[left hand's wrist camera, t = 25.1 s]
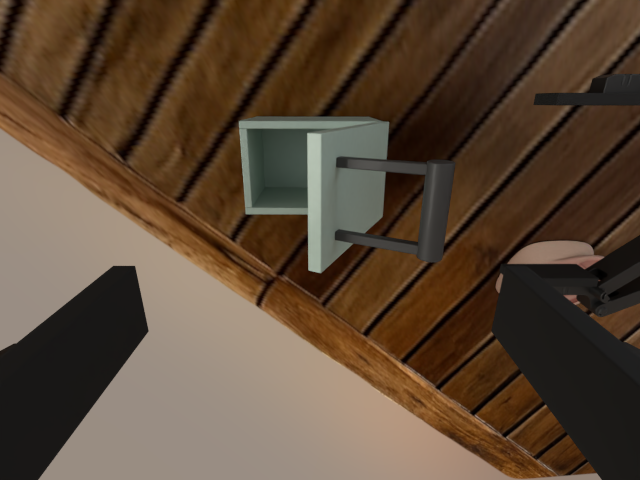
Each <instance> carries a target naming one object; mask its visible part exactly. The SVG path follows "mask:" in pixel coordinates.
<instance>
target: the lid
mask: <svg viewBox="0 0 640 480" xmlns="http://www.w3.org/2000/svg"><path fill="white" fill-rule="evenodd" d="M388 131H389V122H381V121H379V122H373V123H367V124H360V125H354V126H348V127H341V128H335V129H329V130H322V131H316V132H310V133H307V167H308V263H309V271H313V272H318V273H322V272H323V271H324V270H325V269H326V268H327V267H328V266H329V265H330V264H332V263H333V262H334V261H335V260H336V259H337V258H338V257H339V256H340V255H341V254H342V253H343V252H345V251H346V250H347V249H348V248H349V247H350V246H351V245H352V244H353V243H354V244H360V245H365V246H371V247H377V248H382V249H388V250H393V251H399V252H405V253H410V254H416V255H417V258H419V259H420V260H423V261H426V262H438V261H441V260H442V256H443V248H444V241H445V234H446V227H447V220H448V212H449V205H450V198H451V191H452V184H453V177H454V169H455V162H453V161H449V160H429V161H427V162H414V161H400V160H387V145H388ZM386 172H395V173H406V174H418V175H425V184H424V193H423V202H422V211H421V220H420V229H419V238H418V242H414V241H408V240H402V239H396V238H390V237H383V236H377V235H371V234H365V232H366V231H367V230H369V229H370V228H371V227H372V226H373V225H374V224H375V223H376V222H377V221H378V220H379V219H381V218H382V217H383V203H384V189H385V174H386Z"/></svg>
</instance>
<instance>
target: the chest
mask: <svg viewBox="0 0 640 480" xmlns="http://www.w3.org/2000/svg"><path fill="white" fill-rule="evenodd" d="M379 121H380V120H377V119H374V118H371V117H264V116H257V117H253V118H249V119H245V120H241V121H239V128H240V129H239V130H240V143H241V156H242V169H243V182H244V195H245V207H246V214H308V167H307V133H310V132H316V131H322V130H329V129H335V128H341V127H348V126H354V125H360V124H367V123H373V122H379ZM381 122H383V121H381Z"/></svg>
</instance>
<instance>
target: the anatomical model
mask: <svg viewBox="0 0 640 480" xmlns="http://www.w3.org/2000/svg"><path fill="white" fill-rule="evenodd" d="M602 258H604V257H603V256H598V255H594V251H593V249H592V247H591V246H590V245H589V244H587V243H584V242H579V241H546V242H538V243H534V244H531V245H528V246H526V247H524V248H523V249H521V250H520V251H519V252H517V253H516V254H515V255H514V256H513V257H512V258H511V260H510V261H509V262H508V263H507V264H577V265H579V266H580V267H582V268H584V269H586V268H588V267H589V266H591V265H593V264H594V263H596V262H597V261H599V260H601V259H602ZM502 278H503V275H502V274H500V276H499V278H498V280H497V282H496V290H497V291H498V293H500V288H501V283H502ZM598 281H600V280H598ZM564 296H565V297H566V298H567V299H569V300H570V301H571V302H572V303H574V304H575V305H577V304H579V303H580V302H579V301H577V299H576V296H577V295H564Z"/></svg>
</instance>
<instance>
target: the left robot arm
mask: <svg viewBox="0 0 640 480" xmlns="http://www.w3.org/2000/svg"><path fill="white" fill-rule="evenodd" d="M147 333H148V326H147V322H146V317H145V312H144V307H143V302H142V298H141V293H140V288H139V283H138V278H137V274H136V269H135V266H113V267H112V268H110V269H109V270H108V271H106V272H105V273H104V274H103V275H101V276H100V277H99V278H98V279H97V280H95V281H94V282H93V283H92V284H90V285H89V286H88V287H86V288H85V289H84V290H83V291H82V292H80V293H79V294H78V295H77V296H75V297H74V298H73V299H71V300H70V301H69V302H68V303H66V304H65V305H64V306H63V307H62V308H60V309H59V310H58V311H57V312H55V313H54V314H53V315H51V316H50V317H49V318H48V319H47V320H45V321H44V322H43V323H41V324H40V325H39V326H38V327H36V328H35V329H34V330H33V331H32V332H30V333H29V334H28V335H27V336H25V337H24V338H23V339H22V340H20V341H19V342H18V343H17V344H13V345H11V346H9V347H7V348H5V349H3V350H1V351H0V480H38V479H39V478H40V476H41V475H42V474H43V472H44V471H45V470H46V468H47V467H48V466H49V464H50V463H51V462H52V460H53V459H54V458H55V456H56V455H57V453H58V452H59V451H60V450H61V448H62V447H63V446H64V444H65V443H66V441H67V440H68V439H69V437H70V436H71V435H72V433H73V432H74V431H75V429H76V428H77V427H78V425H79V424H80V423H81V421H82V420H83V419H84V417H85V416H86V415H87V413H88V412H89V411H90V409H91V408H92V407H93V405H94V404H95V403H96V401H97V400H98V398H99V397H100V396H101V394H102V393H103V392H104V390H105V389H106V388H107V386H108V385H109V384H110V382H111V381H112V380H113V378H114V377H115V376H116V374H117V373H118V372H119V370H120V369H121V367H122V366H123V365H124V364H125V362H126V361H127V359H128V358H129V357H130V355H131V354H132V353H133V351H134V350H135V349H136V347H137V346H138V345H139V343H140V342H141V341H142V339H143V338H144V337H145V335H146V334H147ZM492 333H493V334H494V335H495V337H496V338H497V339H498V341H499V342H500V343H501V345H502V346H503V347H504V349H505V350H506V351H507V353H508V354H509V355H510V357H511V358H512V359H513V361H514V362H515V364H516V365H517V366H518V368H519V369H520V370H521V372H522V373H523V374H524V376H525V377H526V378H527V380H528V381H529V382H530V384H531V385H532V386H533V388H534V389H535V390H536V392H537V393H538V394H539V396H540V397H541V398H542V400H543V401H544V403H545V404H546V405H547V407H548V408H549V409H550V411H551V412H552V413H553V415H554V416H555V417H556V419H557V420H558V421H559V423H560V424H561V425H562V427H563V428H564V429H565V431H566V432H567V433H568V435H569V436H570V437H571V439H572V440H573V442H574V443H575V444H576V446H577V447H578V448H579V450H580V451H581V452H582V454H583V455H584V456H585V458H586V459H587V460H588V462H589V463H590V464H591V466H592V467H593V468H594V470H595V471H596V472H597V474H598V475H599V476H600V478H601V479H602V480H640V349H638V348H636V347H634V346H632V345H630V344H628V343H627V342H621V341H620V340H618V339H617V338H616V337H615V336H613V335H612V334H611V333H610V332H608V331H607V330H606V329H605V328H603V327H602V326H601V325H600V324H599V323H597V322H596V321H595V320H594V319H592V318H591V317H590V316H589V315H587V314H586V313H585V312H584V311H582V310H581V309H580V308H579V307H577V306H576V305H575V304H574V303H572V302H571V301H570V300H569V299H567V298H566V297H565V296H564V295H562V294H561V293H560V292H559V291H557V290H556V289H555V288H554V287H552V286H551V285H550V284H549V283H547V282H546V281H545V280H544V279H542V278H541V277H540V276H539V275H537V274H536V273H535V272H534V271H532V270H531V269H530V268H529V267H527V266H505V269H504V274H503V278H502V283H501V288H500V293H499V297H498V302H497V307H496V312H495V317H494V321H493V326H492Z"/></svg>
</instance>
